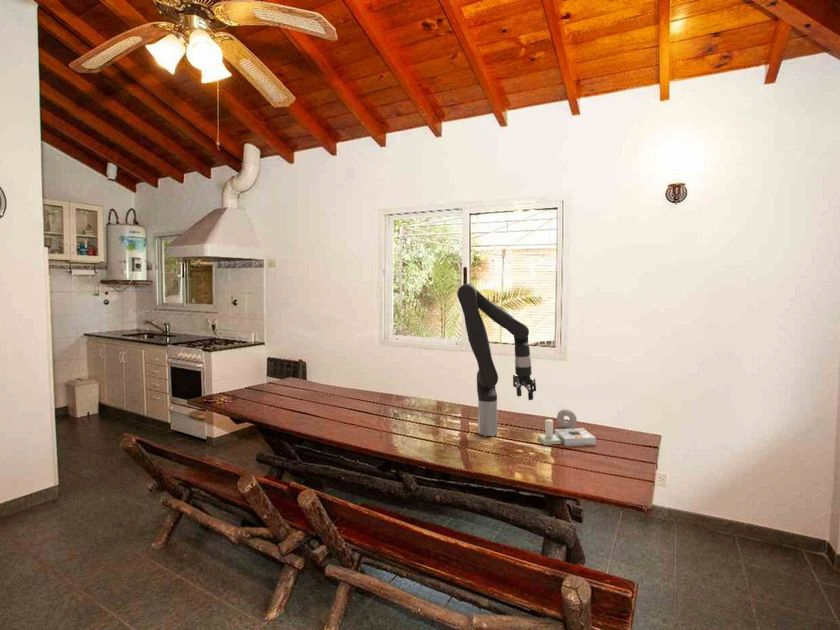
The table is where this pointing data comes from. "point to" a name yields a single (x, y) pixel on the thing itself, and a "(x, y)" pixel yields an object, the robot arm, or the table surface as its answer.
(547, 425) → the peg
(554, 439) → the square base plate
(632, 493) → the table surface
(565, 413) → the donut
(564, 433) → the flange
